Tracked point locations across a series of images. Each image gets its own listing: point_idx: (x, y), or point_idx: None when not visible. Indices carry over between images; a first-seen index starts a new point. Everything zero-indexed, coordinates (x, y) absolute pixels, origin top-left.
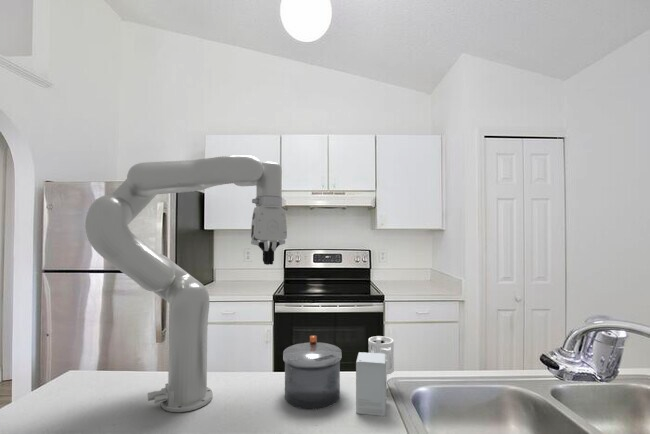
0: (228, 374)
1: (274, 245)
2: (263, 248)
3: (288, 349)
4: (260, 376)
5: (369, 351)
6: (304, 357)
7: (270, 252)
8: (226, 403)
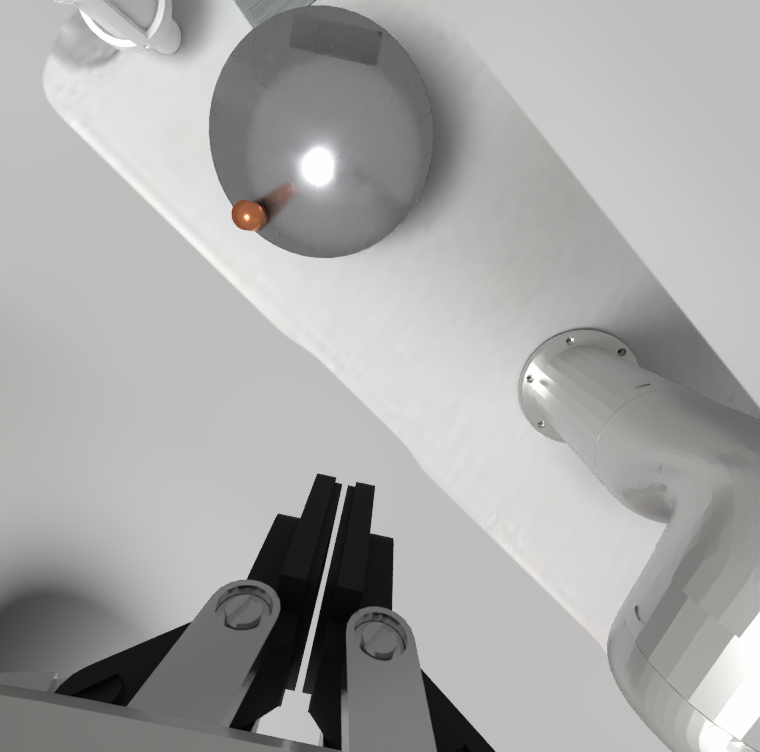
0: (424, 445)
1: (210, 659)
2: (419, 678)
3: (369, 231)
4: (370, 374)
5: (116, 9)
6: (385, 110)
7: (318, 579)
8: (522, 305)
